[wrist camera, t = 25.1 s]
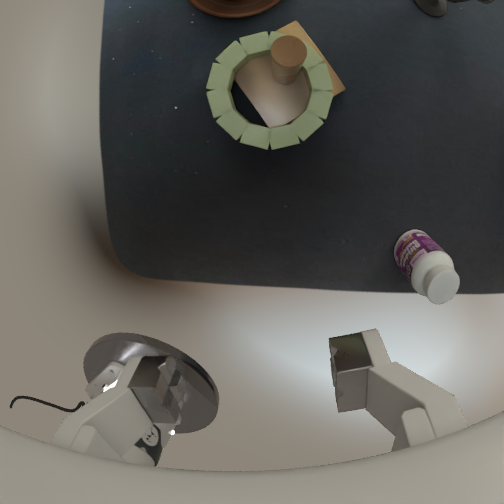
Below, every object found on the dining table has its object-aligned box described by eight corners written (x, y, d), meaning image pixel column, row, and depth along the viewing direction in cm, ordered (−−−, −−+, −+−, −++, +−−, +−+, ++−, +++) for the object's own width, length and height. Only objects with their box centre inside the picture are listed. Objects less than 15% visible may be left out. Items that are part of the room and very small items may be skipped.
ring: (230, 158, 31) (226, 161, 29) (199, 56, 27) (193, 52, 24) (339, 133, 29) (345, 134, 27) (310, 29, 25) (313, 22, 22)
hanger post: (272, 132, 31) (270, 139, 20) (224, 66, 28) (195, 38, 17) (343, 90, 28) (380, 76, 17) (295, 24, 26) (304, -24, 14)
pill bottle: (398, 225, 34) (432, 260, 25) (434, 231, 34) (472, 266, 25) (387, 265, 36) (414, 309, 27) (422, 269, 36) (454, 311, 27)
